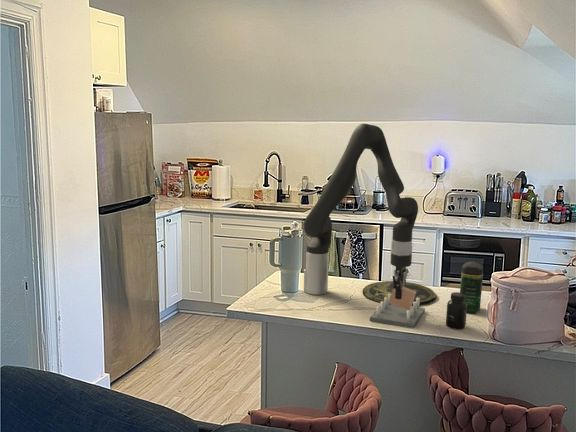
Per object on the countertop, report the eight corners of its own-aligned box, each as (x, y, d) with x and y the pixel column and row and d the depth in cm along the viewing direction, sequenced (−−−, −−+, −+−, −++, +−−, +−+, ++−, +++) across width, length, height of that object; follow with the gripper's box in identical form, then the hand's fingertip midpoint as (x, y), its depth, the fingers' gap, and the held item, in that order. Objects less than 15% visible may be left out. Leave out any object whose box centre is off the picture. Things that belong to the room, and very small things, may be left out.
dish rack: (369, 320, 217) (370, 306, 216) (383, 305, 234) (384, 292, 233) (413, 328, 210) (414, 313, 209) (424, 311, 227) (425, 298, 226)
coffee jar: (479, 315, 225) (482, 267, 222) (457, 312, 228) (460, 264, 225) (481, 307, 234) (484, 261, 231) (460, 304, 237) (463, 259, 233)
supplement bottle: (444, 328, 211) (446, 295, 209) (446, 322, 217) (448, 290, 215) (464, 331, 208) (467, 298, 206) (466, 324, 215) (468, 292, 213)
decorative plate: (376, 277, 267) (444, 287, 254) (376, 281, 268) (443, 291, 254) (351, 295, 241) (425, 308, 228) (351, 300, 242) (425, 312, 228)
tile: (388, 302, 222) (394, 285, 220) (390, 300, 224) (396, 283, 222) (409, 310, 219) (415, 293, 217) (410, 308, 221) (416, 291, 219)
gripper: (395, 247, 225) (393, 291, 229) (386, 255, 213) (384, 301, 216) (415, 249, 222) (413, 294, 226) (407, 257, 210) (404, 304, 213)
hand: (399, 297), depth 221 cm, fingers closed on tile, 2 cm apart
